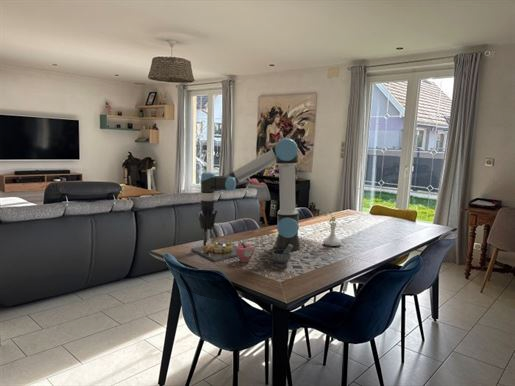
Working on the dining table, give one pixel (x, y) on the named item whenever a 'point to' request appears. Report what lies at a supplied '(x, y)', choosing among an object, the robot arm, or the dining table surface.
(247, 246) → the red apple
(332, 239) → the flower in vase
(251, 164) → the robot arm
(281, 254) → the mortar and pestle
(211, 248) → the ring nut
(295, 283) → the dining table surface
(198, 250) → the gray square tray
